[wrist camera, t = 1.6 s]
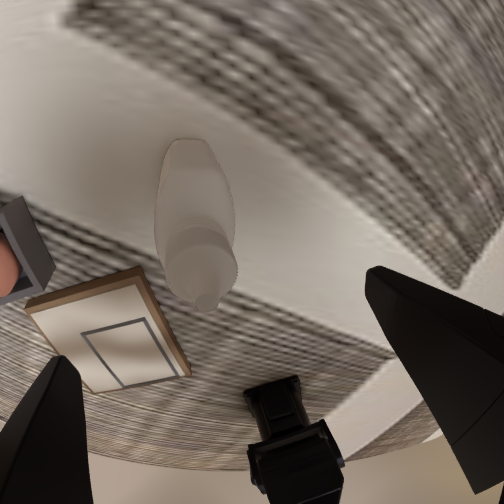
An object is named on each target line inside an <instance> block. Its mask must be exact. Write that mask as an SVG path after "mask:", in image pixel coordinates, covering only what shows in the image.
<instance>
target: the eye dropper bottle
mask: <svg viewBox="0 0 504 504" xmlns="http://www.w3.org/2000/svg"><path fill="white" fill-rule="evenodd" d="M234 233H235V215H234V207H233V201H232V196H231V193H230V189H229V186H228V183H227V180H226V178H225V175H224V173H223V171H222V169H221V167H220V165H219V163H218V161H217V159H216V158H215V156H214V154H213V152H212V151H211V149H210V147H209V146H208V144H207V143H206V142H205V141H203V140H197V139H179V140H175V141H174V142H173V143H172V144H171V145H170V147H169V148H168V151H167V153H166V155H165V158H164V161H163V165H162V170H161V175H160V182H159V188H158V194H157V201H156V209H155V219H154V235H155V243H156V249H157V253H158V256H159V259H160V261H161V264H162V266H163V268H164V270H165V277H166V283H167V284H168V287H169V289H170V290H171V292H173V293H174V294H175V295H176V296H177V297H179V298H181V299H182V300H185V301H188V302H191V303H194V304H195V306H196V308H197V309H198V310H200V311H202V312H209V311H212V310H214V309H215V308H216V307H217V306H218V303H219V298H221V297H223V296H224V295H225V294H226V293H228V291H230V289H231V288H232V286H233V285H234V283H235V282H236V281H235V280H236V279H237V278H236V277H237V276H238V275H237V273H238V271H237V270H238V268H237V262H236V260H235V257H234V254H233V251H232V246H233V241H234Z"/></svg>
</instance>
